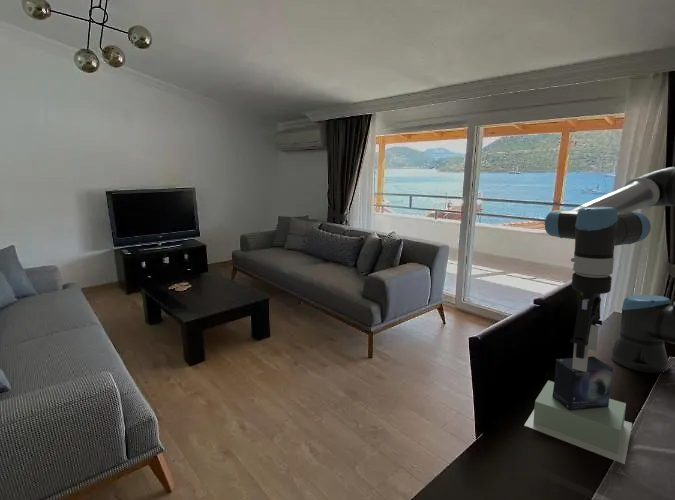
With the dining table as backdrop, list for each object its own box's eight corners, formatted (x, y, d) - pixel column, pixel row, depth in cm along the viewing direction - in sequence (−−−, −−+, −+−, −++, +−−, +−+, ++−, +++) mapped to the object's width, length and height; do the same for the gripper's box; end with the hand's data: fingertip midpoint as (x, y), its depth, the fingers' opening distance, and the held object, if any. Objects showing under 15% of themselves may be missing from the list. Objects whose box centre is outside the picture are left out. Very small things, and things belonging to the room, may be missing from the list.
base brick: (546, 400, 101) (548, 380, 100) (623, 425, 90) (626, 403, 89) (533, 422, 92) (534, 401, 91) (617, 454, 81) (620, 430, 80)
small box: (570, 412, 86) (573, 371, 85) (551, 396, 93) (554, 358, 91) (610, 408, 87) (615, 367, 86) (589, 393, 94) (592, 355, 92)
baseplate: (542, 397, 104) (543, 394, 104) (631, 426, 91) (632, 423, 91) (523, 428, 91) (524, 425, 91) (624, 468, 78) (624, 464, 78)
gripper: (582, 262, 96) (576, 337, 100) (560, 283, 78) (554, 374, 82) (618, 265, 91) (610, 344, 95) (603, 288, 73) (595, 385, 77)
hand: (584, 358), depth 88 cm, fingers open, 13 cm apart
